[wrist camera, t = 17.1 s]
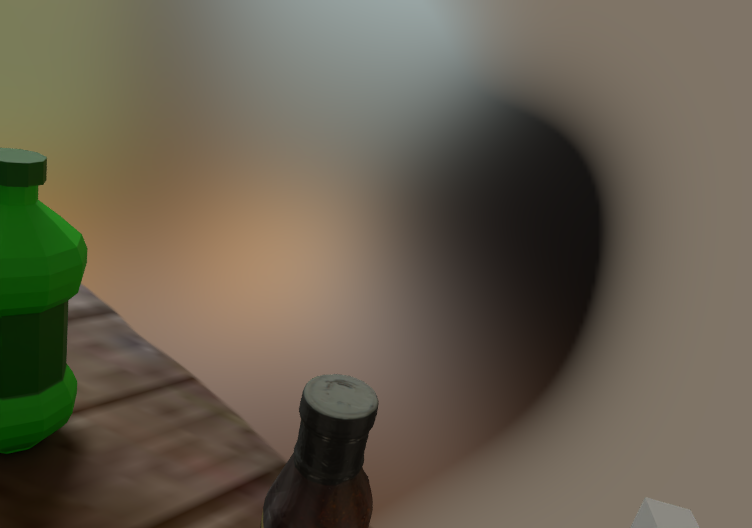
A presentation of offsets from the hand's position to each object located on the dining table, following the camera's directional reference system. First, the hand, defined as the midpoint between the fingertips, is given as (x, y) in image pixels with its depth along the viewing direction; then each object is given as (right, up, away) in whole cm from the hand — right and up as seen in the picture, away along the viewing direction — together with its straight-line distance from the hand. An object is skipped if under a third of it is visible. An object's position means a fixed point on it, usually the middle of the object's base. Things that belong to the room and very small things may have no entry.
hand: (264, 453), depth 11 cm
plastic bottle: (-30, -12, +41) cm, 52 cm away
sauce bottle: (-4, -22, +27) cm, 35 cm away
